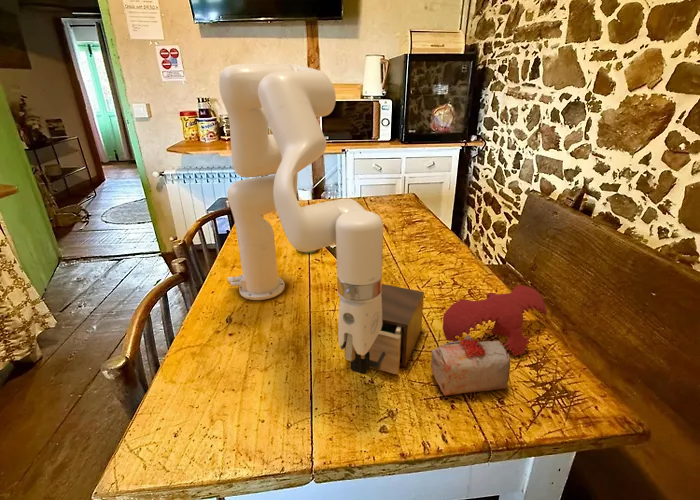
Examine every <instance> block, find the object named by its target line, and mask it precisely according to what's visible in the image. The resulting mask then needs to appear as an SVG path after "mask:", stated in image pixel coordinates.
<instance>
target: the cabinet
mask: <svg viewBox="0 0 700 500" xmlns="http://www.w3.org/2000/svg"><path fill="white" fill-rule="evenodd" d="M381 298H382V322H383V323H387V324H391V325H396V326H400V327H404V332H403V352H402V357H401V359H400V364H399V367H403V368H406V367H407V364H408V362H409V360H410V357H411V356H412V353H413V351H414V348H415V347H416V344H417V341H418V339H419V337H420V334H421V332H422V325H423V324H422V323H423V313H424V311H423V310H424V298H425V291H421V290H415V289H412V288H411V289H410V288H405V287H401V286H394V285H390V284H385V283H382V294H381Z"/></svg>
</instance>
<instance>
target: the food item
mask: <svg viewBox="0 0 700 500" xmlns="http://www.w3.org/2000/svg"><path fill="white" fill-rule="evenodd" d="M430 362H431V363H430V367H431V371H432V374H433V377H434V380H435V382H436V383H437V385H438V387H439V389H440V390H441V392H442V394H443V395H444V397H445V396H447V397H448V396H454V395H460V394H469V393H477V392H489V391H496V390H506V389H508V388H509V386H508V383H509V379H510V369H511V355H510V353H508V352H507V348H506V346H504V344H503V343H502V342H501V341H500V340H499V339H498V340H497V339H496V340H485V341H479V340H477V339H473V337H471V335H470V333H469V334H466V335H465V337H464V338H463V339H460V340H458V341H456V342H453V341H449V342H447V343H444V344H442V345H438V347H437V348H434V349H433V350H431V361H430Z"/></svg>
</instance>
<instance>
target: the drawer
mask: <svg viewBox="0 0 700 500" xmlns="http://www.w3.org/2000/svg"><path fill="white" fill-rule="evenodd" d="M382 327H385V328H388V329H390V330H391V331H392V333H389V332H384V331H380V332H379V334H378V336H377V338H376V339H375V341H374V343H373V344H372V346H371V348H370V350H369V351H368V352H370V367H369V369H372V370H373V369H374V370H377V371H382V372H386V373H390V374H393V375H396V376H397V375H399V372H400V366H399V364H400V359H401V357H402V352H403V332H404V327H400V326H396V325H391V324H387V323H383V322H382ZM345 351H346V347H345V348H344V352H345ZM345 361H347V360H345ZM347 362H348V363H350V361H347Z"/></svg>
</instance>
